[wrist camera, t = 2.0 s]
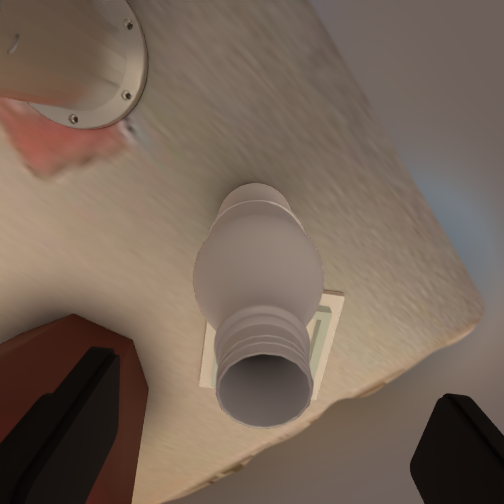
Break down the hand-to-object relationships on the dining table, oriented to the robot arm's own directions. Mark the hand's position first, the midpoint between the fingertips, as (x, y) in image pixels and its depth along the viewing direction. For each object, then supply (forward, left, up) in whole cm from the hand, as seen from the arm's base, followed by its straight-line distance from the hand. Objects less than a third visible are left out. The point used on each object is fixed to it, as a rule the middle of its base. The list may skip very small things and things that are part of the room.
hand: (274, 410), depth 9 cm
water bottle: (0, 0, -26) cm, 26 cm away
